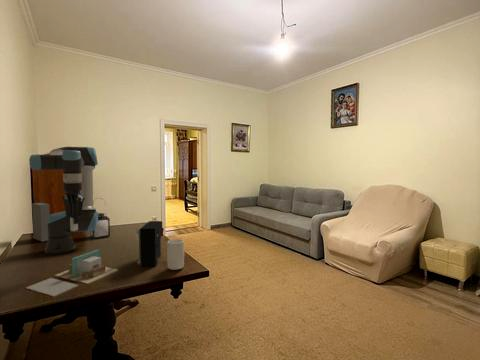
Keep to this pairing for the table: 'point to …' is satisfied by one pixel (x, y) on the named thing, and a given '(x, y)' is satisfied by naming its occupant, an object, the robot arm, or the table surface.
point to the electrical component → (150, 243)
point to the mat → (52, 287)
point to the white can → (175, 254)
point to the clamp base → (87, 274)
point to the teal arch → (74, 260)
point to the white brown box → (88, 264)
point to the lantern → (101, 226)
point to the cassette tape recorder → (40, 221)
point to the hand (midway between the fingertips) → (74, 230)
